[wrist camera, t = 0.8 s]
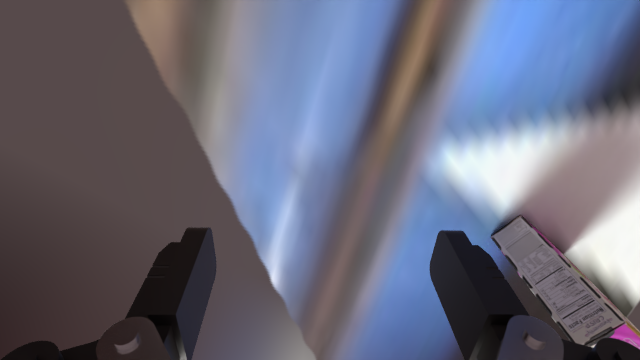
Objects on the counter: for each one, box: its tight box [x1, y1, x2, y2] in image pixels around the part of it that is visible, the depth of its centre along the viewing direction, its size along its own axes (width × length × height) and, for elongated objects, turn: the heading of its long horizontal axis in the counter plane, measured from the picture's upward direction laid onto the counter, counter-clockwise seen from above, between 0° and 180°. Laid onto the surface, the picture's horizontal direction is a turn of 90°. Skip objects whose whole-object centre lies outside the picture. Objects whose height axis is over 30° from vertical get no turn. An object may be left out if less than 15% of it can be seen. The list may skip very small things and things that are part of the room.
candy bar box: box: [491, 215, 640, 349], centre depth 39 cm, size 11×5×16 cm, turn 49°
